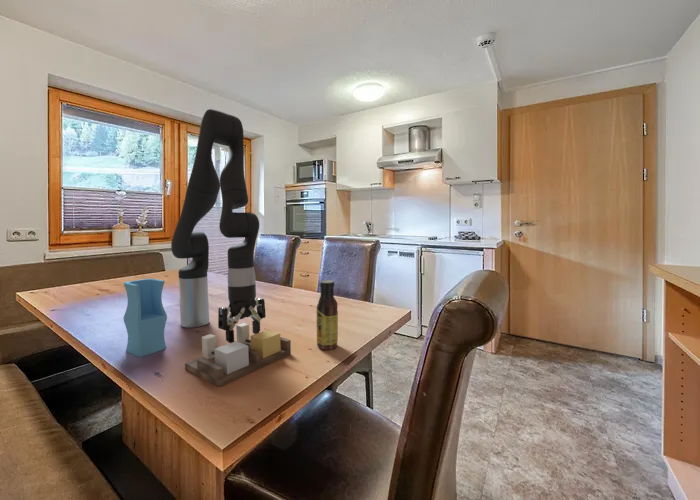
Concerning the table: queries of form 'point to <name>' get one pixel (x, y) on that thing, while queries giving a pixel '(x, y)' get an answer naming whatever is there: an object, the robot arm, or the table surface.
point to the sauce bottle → (327, 317)
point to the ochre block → (259, 340)
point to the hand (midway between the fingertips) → (243, 337)
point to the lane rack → (218, 378)
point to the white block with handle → (225, 354)
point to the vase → (145, 317)
